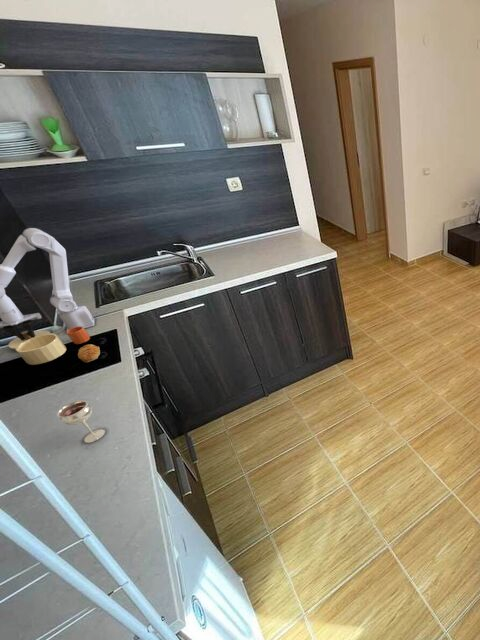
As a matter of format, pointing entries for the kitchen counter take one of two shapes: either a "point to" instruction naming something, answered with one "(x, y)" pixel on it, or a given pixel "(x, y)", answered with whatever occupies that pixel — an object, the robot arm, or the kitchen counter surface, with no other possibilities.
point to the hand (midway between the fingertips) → (28, 337)
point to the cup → (78, 335)
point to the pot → (41, 349)
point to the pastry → (88, 353)
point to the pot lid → (26, 336)
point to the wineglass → (79, 418)
